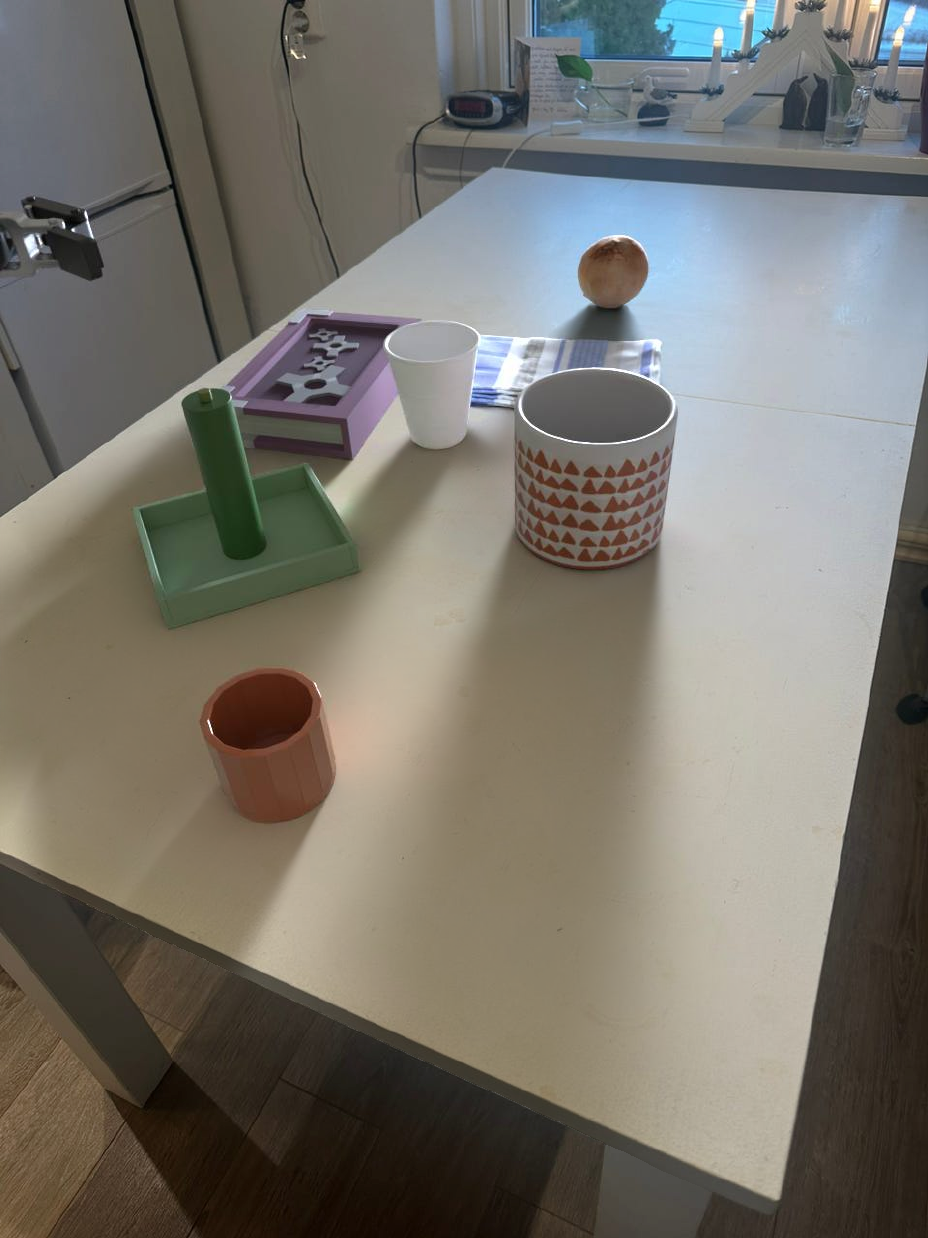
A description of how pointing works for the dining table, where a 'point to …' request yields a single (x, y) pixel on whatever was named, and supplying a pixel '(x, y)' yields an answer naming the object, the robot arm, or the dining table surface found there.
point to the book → (317, 384)
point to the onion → (613, 271)
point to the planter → (592, 466)
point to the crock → (270, 744)
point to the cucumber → (225, 471)
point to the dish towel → (552, 363)
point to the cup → (434, 379)
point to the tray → (213, 583)
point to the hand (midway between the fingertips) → (22, 284)
